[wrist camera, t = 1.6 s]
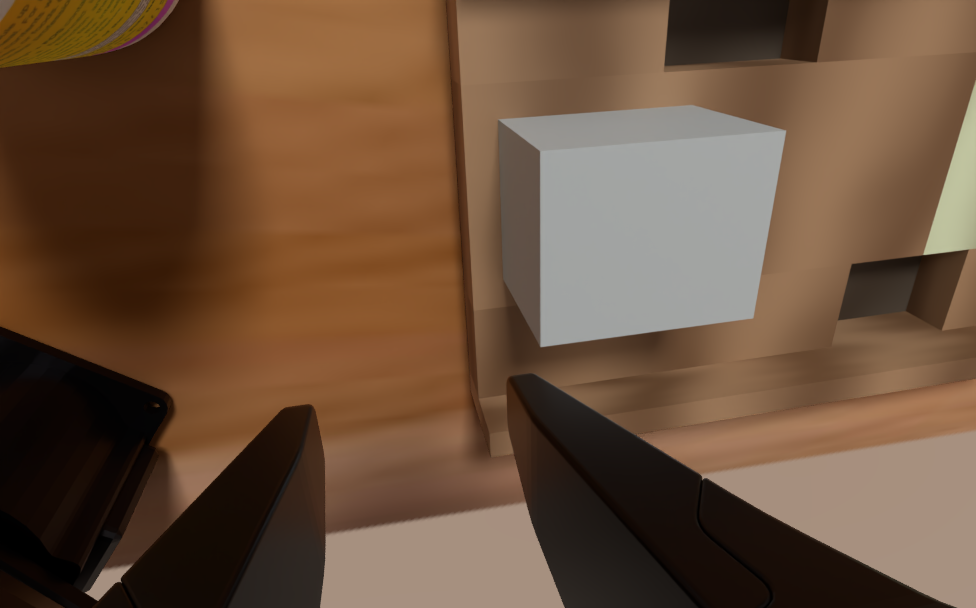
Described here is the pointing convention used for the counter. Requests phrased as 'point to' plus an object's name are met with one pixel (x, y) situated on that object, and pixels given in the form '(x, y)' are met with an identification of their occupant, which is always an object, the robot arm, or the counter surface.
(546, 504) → the robot arm
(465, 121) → the wooden tray
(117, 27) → the supplement bottle
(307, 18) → the counter surface
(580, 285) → the block
